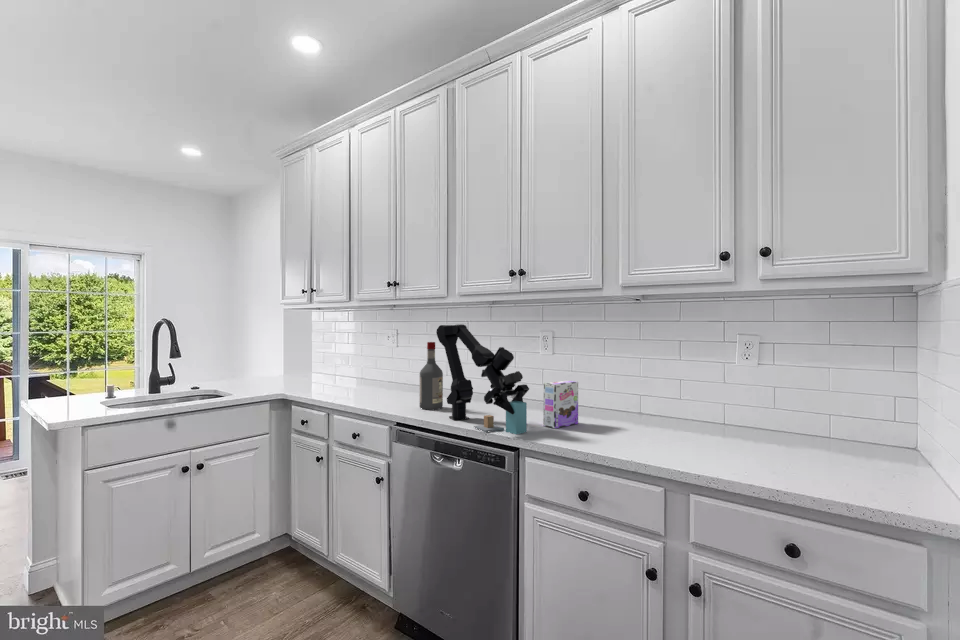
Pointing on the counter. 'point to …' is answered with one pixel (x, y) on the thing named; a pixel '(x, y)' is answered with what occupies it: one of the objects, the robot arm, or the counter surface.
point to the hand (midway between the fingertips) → (519, 412)
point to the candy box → (560, 404)
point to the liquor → (431, 382)
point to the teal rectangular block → (517, 418)
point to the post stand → (489, 424)
